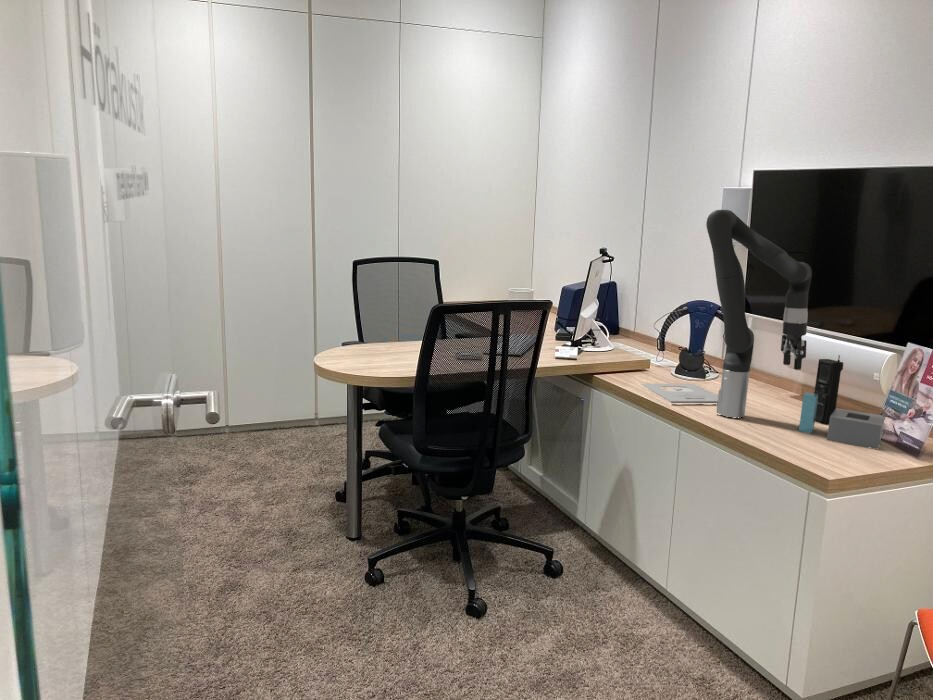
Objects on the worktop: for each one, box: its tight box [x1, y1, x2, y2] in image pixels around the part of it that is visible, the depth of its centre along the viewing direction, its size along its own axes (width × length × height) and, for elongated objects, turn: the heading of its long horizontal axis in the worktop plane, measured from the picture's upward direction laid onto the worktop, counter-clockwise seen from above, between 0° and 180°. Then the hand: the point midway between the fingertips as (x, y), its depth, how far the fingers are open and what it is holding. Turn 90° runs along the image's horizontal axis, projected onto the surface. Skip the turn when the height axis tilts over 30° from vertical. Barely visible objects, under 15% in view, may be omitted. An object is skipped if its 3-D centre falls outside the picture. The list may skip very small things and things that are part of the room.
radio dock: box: [826, 407, 886, 449], centre depth 245 cm, size 15×15×8 cm
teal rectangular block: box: [798, 391, 818, 434], centre depth 252 cm, size 4×5×13 cm
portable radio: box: [813, 354, 844, 425], centre depth 265 cm, size 8×6×25 cm
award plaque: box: [640, 383, 718, 403], centre depth 298 cm, size 25×30×2 cm
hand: (791, 367), depth 254 cm, fingers open, 8 cm apart
